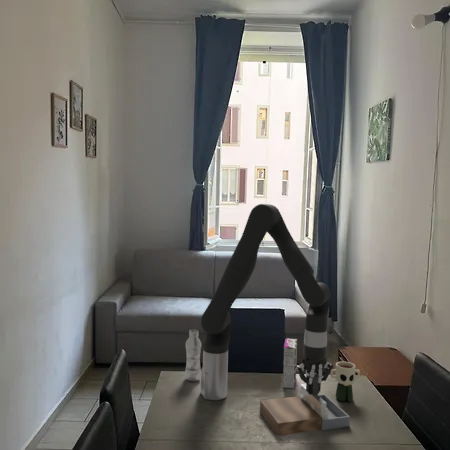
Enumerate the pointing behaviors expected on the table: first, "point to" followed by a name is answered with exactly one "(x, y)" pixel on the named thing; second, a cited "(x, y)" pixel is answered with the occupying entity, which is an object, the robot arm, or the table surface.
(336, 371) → the character mug
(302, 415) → the walnut plate
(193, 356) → the plastic bottle
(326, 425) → the box
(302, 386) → the bar
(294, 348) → the candy bar box
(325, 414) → the cream tile
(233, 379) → the table surface
